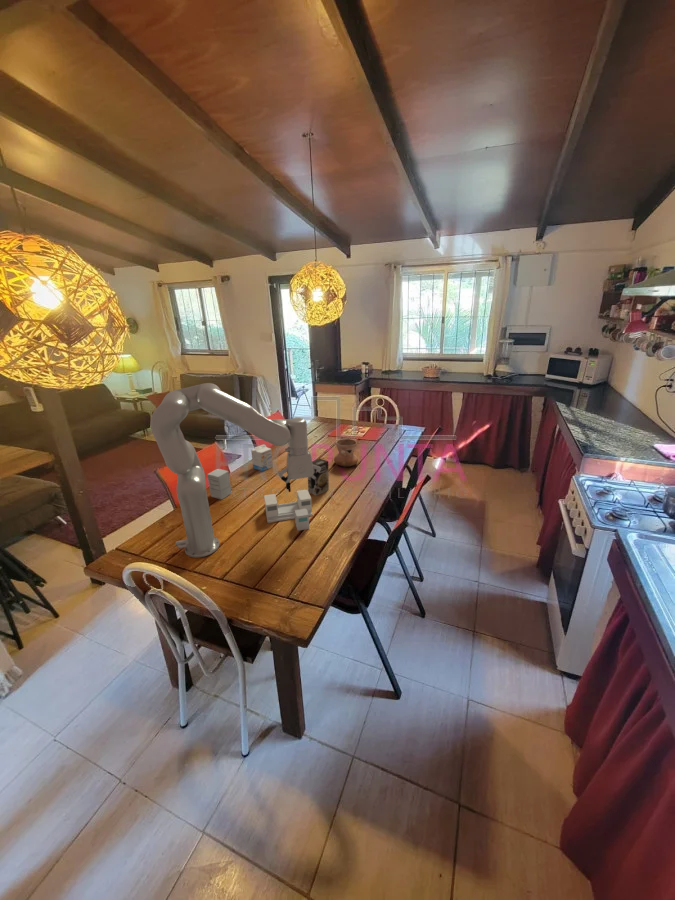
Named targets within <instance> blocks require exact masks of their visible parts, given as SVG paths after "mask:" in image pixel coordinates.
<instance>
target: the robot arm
mask: <svg viewBox="0 0 675 900" xmlns="http://www.w3.org/2000/svg"><path fill="white" fill-rule="evenodd" d="M200 409H202V410H203V411H205V412H208V413H209V414H212V415H214V416H216V417H218V418H221V420H222V419H223V420H225V421H227V422H229V423H231V424H234V425H236V426H237V427H239V428H241V429H242V430H244V431H246V432H248V433H250V434H251V435H252V436H254V437H257V438H258V439H260V440H261V441H264V442H267V443H269V444H271V445H273V446H277V447H282V446H286V445H288V446H287V447H286V448H284V452H285V453H287V455H286V467H284V468H283V469H282V470H280V471H278V472H277V474H278V476H279V478H280V479H281V480H282V481H283V482H285V487H286V490H288V493H290V492H291V491H292V490H291V489H292V487H291V482H290V481H291V480H299V479H305V478H307V479H308V477H311V486H312V488H314V485H315V479H316V477H317V476H318V475H319V472H320V471H321V467H320V466H317V465H314V464H312V461H313V459H312V454H311V451H310V450H309V442H308V440H309V439H308V423H307V420H305V418H301V417H293V418H290V419H289V418H288V419H286V418H285V419H284V418H274V419H273V418H272V419H270V418H267V417H265V416H264V415H262V414H261V413H259V411H258V410H256V409H255V408H254V407H253V406H252V405H250V404H249V403H247V402H245V401H243V400H241V399H239V398H237V397H235V396H233V395H230V394H229V393H226V391H222V389H221V388H220V387H219V386H218V385H216V383H215V384H214V383H213V382H206V383H205V382H204V383H201V384H196V385H191V386H187V387H184V388H179V389H175V390H172V391H170V392H168V393H167V394H166V395H165V396H164V397H163V399H162V401H161V403H160V404H159V405H158V406H157V407H156V408H155V410H154V411H153V413H152V415H151V418H150V425H149V426H150V430H151V433H152V435H153V437H154V440H155V441H156V444H157V446H158V449H159V452H160V454H161V456H162V458H163V460H164V463H165V465H166V467H167V468H168V469H169V471H170V472H172V473H174V474H176V476H177V480H176V481H177V482H176V495H177V499H178V503H179V506H180V512H181V515H182V521H183V525H184V530H185V535H186V538H185V539H182V540H176V541H175V546H176V547H178V549H179V550H181V549H184V553H185V555H187V557H190V558H194V559H195V558H196V559H197V558H204V557H207V556H209V555H213V554H214V553H215V552H216V551H217V550H218V549H219V548H220V540H219V538H218V537H217V536H215V535H214V528H213V522H212V516H211V510H210V504H209V498H208V494H207V485H206V484H207V483H206V474H205V470H204V468H203V465H202V463H201V460H200V458H199V456H198V454H197V451H196V449H195V447H194V445H193V444H192V443H191V442H190V441H188V439H187V440H186V439H185V436H184V434H183V432H182V430H181V427H180V424H181V423H182V422H183V421H184V420H185V419H186V417H187V416H188V414H189V413H190V412H193V411H197V410H200ZM313 468H314V469H317V470H316V472H315V473H314V474H313ZM284 474H287V475H286V476H284Z"/></svg>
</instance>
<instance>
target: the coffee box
mask: <svg viewBox="0 0 675 900" xmlns="http://www.w3.org/2000/svg"><path fill="white" fill-rule="evenodd" d="M312 464H314V465H317V466H320V467H321V471H320V472H319V475H318V476H317V477H316V479H315V485H314V488H312V486H311V477H307V490H308V492H309V494H312V495H314V496H318V495H319V496H320V495H321V494H323V493H326V492H328V491H329V490H330V489H329V488H330V487H329V485H330V484H329V483H330V482H329V477H330V476H329V460H326V459H322V458H317V459H315V460H312ZM316 470H317V469H314V468H313V474H314V473H315V472H316Z"/></svg>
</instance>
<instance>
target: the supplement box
mask: <svg viewBox="0 0 675 900" xmlns="http://www.w3.org/2000/svg"><path fill="white" fill-rule="evenodd" d="M206 474H207V481H208V486H209V487H208V488H209V492H210V497H212V498H215V499H218V500H224V499H225V498H227V497H228V496H230V495H231V494H232V486H231V479H230V472H229V470H226V469H221V468H217V469H214V470H213V471H210V472H209V473H206Z"/></svg>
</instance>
